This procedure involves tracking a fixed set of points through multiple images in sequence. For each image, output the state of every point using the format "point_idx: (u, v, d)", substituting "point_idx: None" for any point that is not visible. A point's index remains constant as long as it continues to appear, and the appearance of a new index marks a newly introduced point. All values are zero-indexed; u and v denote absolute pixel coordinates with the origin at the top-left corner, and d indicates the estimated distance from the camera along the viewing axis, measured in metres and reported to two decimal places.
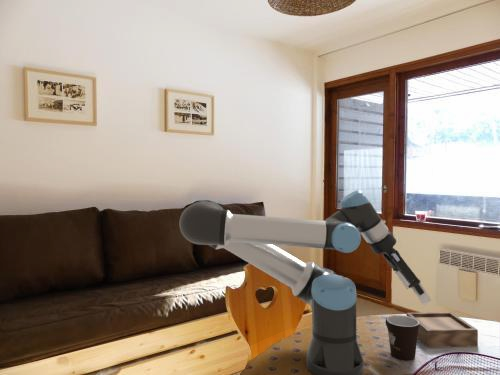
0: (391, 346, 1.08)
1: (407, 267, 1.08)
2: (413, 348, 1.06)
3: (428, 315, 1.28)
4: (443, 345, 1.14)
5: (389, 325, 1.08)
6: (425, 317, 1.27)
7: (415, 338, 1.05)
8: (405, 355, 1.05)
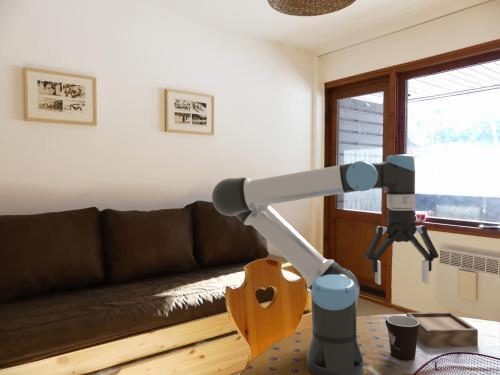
0: (391, 346, 1.08)
1: (373, 242, 1.09)
2: (413, 348, 1.06)
3: (428, 315, 1.28)
4: (443, 345, 1.14)
5: (389, 325, 1.08)
6: (425, 317, 1.27)
7: (415, 338, 1.05)
8: (405, 355, 1.05)
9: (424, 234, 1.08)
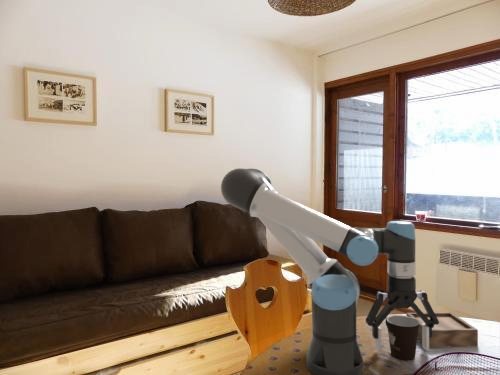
0: (391, 346, 1.08)
1: (374, 308, 1.09)
2: (413, 348, 1.06)
3: (428, 315, 1.28)
4: (443, 345, 1.14)
5: (389, 325, 1.08)
6: None
7: (415, 338, 1.05)
8: (405, 355, 1.05)
9: (424, 301, 1.09)
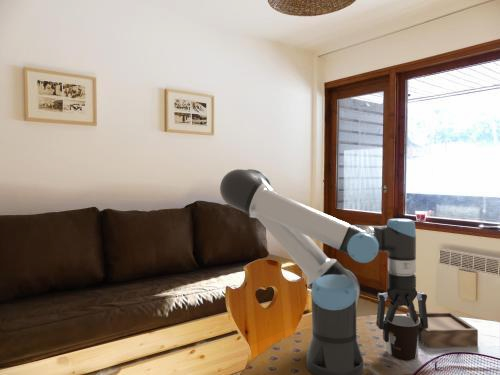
0: (391, 346, 1.08)
1: (379, 311, 1.09)
2: (413, 348, 1.05)
3: (428, 315, 1.28)
4: (443, 345, 1.14)
5: (389, 325, 1.08)
6: None
7: (415, 338, 1.05)
8: (405, 355, 1.05)
9: (422, 302, 1.09)
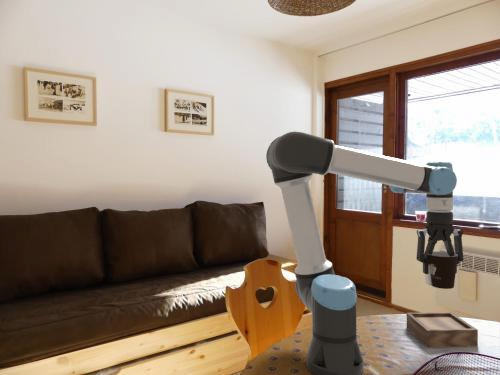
0: (432, 277, 1.19)
1: (420, 246, 1.20)
2: (453, 277, 1.16)
3: (428, 315, 1.28)
4: (443, 345, 1.14)
5: (430, 257, 1.18)
6: (425, 317, 1.27)
7: (454, 268, 1.16)
8: (445, 283, 1.16)
9: (458, 237, 1.19)
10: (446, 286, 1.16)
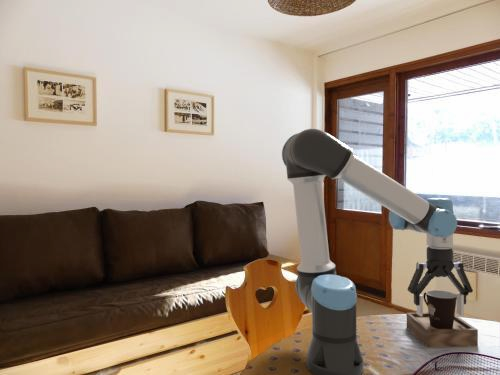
0: (431, 317, 1.19)
1: (415, 277, 1.20)
2: (451, 318, 1.16)
3: (428, 315, 1.28)
4: (443, 345, 1.14)
5: (429, 298, 1.18)
6: (425, 317, 1.27)
7: (453, 309, 1.16)
8: (444, 324, 1.16)
9: (461, 270, 1.20)
10: (445, 327, 1.16)
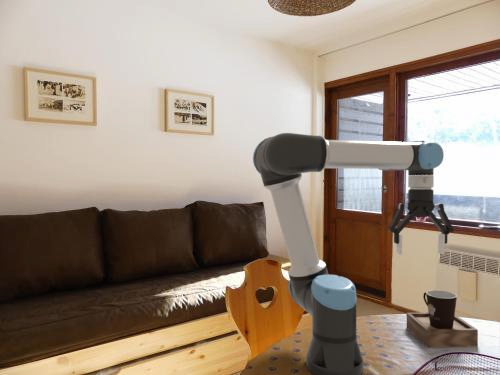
0: (431, 317, 1.19)
1: (396, 217, 1.24)
2: (451, 318, 1.16)
3: (428, 315, 1.28)
4: (443, 345, 1.14)
5: (429, 298, 1.18)
6: (425, 317, 1.27)
7: (453, 309, 1.16)
8: (444, 324, 1.16)
9: (441, 211, 1.23)
10: (445, 327, 1.16)
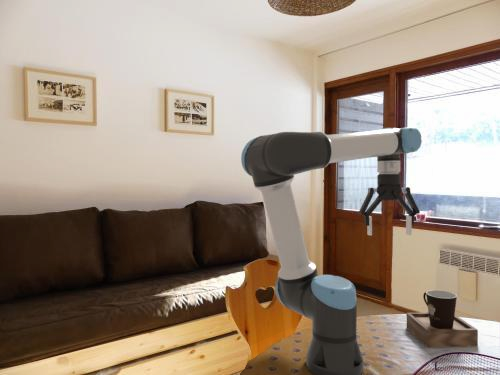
0: (431, 317, 1.19)
1: (366, 200, 1.31)
2: (451, 318, 1.16)
3: (428, 315, 1.28)
4: (443, 345, 1.14)
5: (429, 298, 1.18)
6: (425, 317, 1.27)
7: (453, 309, 1.16)
8: (444, 324, 1.16)
9: (408, 194, 1.31)
10: (445, 327, 1.16)
